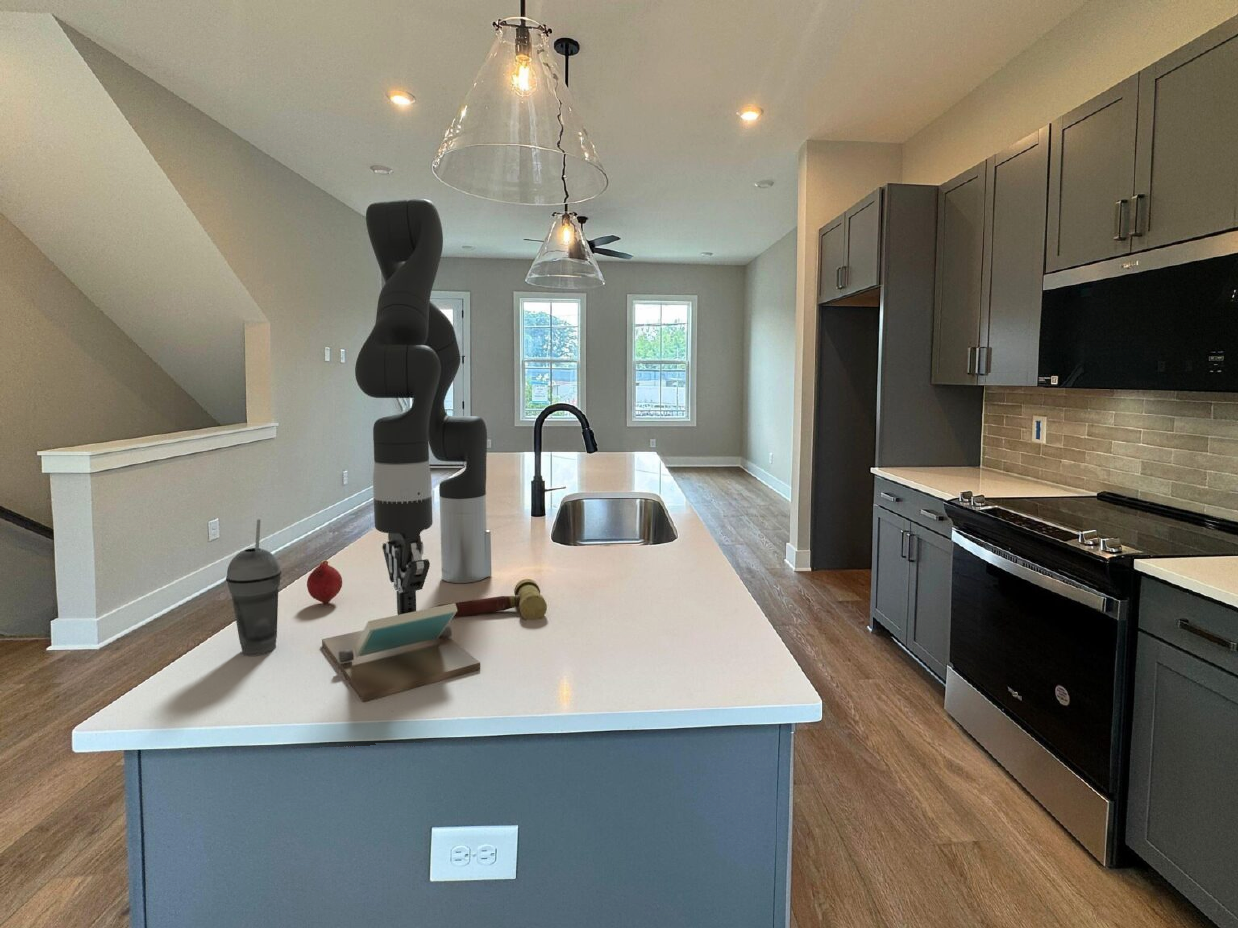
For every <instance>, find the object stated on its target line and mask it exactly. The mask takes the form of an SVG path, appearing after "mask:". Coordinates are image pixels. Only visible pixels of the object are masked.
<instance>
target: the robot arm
mask: <svg viewBox="0 0 1238 928" xmlns="http://www.w3.org/2000/svg"><path fill="white" fill-rule="evenodd" d="M365 221H366V229H367V234H368V238H369V240H370V241H369V242H370V245H371V247H372V250H373V252H374V255H375V258H376V262H377V263H378V266H379V269H380V271H381V274H382V278H383V280H384V285H383V286H382V288H381V290H380V293H379V297H378V300H377V308H376V315H375V325H374V326H373V328H372V330H371V332H370V334H369V335H368V337H367V338H366V339H365V342H364V343H363V345H362V346H361V349H360V350H359V353H358V355H357V358H356V361H355V366H354V368H355V370H354V374H355V375H354V376H355V381H356V384H357V385H358V387H359V389H360V390H361V392H362V393H364V394H365V395H367V396H368V397H371V398H376V399H413V400H412V401H413V402H412V405H411V407H410V408H409V409H408V410H407V411H405V412H402V413H399V414H394V415H389V416H384V417H380V418H378V419H377V420H375V422H374V423H373V428H372V436H373V439H372V440H373V459H374V460H373V461H374V462H373V463H374V464H373V474H372V491H373V493H372V494H373V518H374V519H373V520H374V521H373V523H374V527H375V529H376V530H377V531H378V532H381V533H384V534H387V538H388V541H386V542H385V543H382V547H381V548H382V551H383V555H384V559H385V563H386V567H387V572H388V576H389V581H390V582H391V583H393V589H394V590H395V591H396V609H397V610H396V611H397V613H396V614H397V615H400V614H405V613H410V612H415V611H417V591H421V590H423V587H424V585H425V581H426V579H427V575H428V572H429V569H430V565H431V564H430V560H429V558H426V559H423V558H422V557H423V555H424V542H423V541H422V538H421V533H422V532H424V531H425V530H428V529H430V528H431V527H432V525H433V491H432V490H433V488H432V487H433V485H432V473H431V467H430V461H429V460H430V453H429V452H430V450H431V453H432V455H433V456H434V458H435V459H436V460H437V461H440V462H449V463H450V462H451V463H454V462H455V463H457V462H458V463H465V468H464V469H465V470H463V472H461V473H459V474H458V475H455V476H452V477H448V478H446V479H443V480H442V481H441V482H439V486H438V490H439V491H438V492H439V517H440V518H439V521H440V523H439V524H440V554H441V555H440V557H441V559H440V561H441V578H442V580H443V581H444V582H447V583H453V584H454V583H455V584H466V583H467V584H469V583H475V582H478V581H481V580H484V579H486V578H488V577H492V536H491V535H492V534H491V533H492V532H491V531H490V530H489V529H487V526H488V525H487V489H486V488H487V455H488V453H487V452H488V431H487V430H488V429H487V426H486V423H485V421H484V419H483V418H482V417H480V416H476V415H473V416H472V415H471V416H470V415H469V416H468V415H466V416H465V415H448V414H447V412H446V409H445V400H446V396H447V393H448V392H449V389H450V388H451V385H452V383H453V382H454V380H455V378H456V375H457V374H458V371H459V367H460V364H461V353H460V349H459V344H458V341H457V335H456V332H455V329H454V325H453V324H452V322H451V321H450V319H449V318H448V317H447V315H446V314H445V313H443V311H442V310H441V309H440V308H439V307H437V306H436V304H434V303H433V301H431V294H432V290H433V286H434V283H435V280H436V277H437V274H438V270H439V266H440V262H441V257H442V254H443V248H444V247H443V246H444V235H443V234H444V233H443V226H442V223H441V218H440V215H439V211H438V209H437V207H436V206H435V204H434V203H433V201H431V200H429V199H425V198H411V199H400V200H399V199H397V200H390V201H389V200H388V201H381V202H373V203H371V204H369V205H368V207H367V209H366V212H365ZM403 262H404V263H403ZM429 449H430V450H429Z"/></svg>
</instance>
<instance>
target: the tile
mask: <svg viewBox="0 0 1238 928" xmlns="http://www.w3.org/2000/svg"><path fill="white" fill-rule="evenodd" d="M452 603H453V604H450V603H447V604H448V605H443V604H442V605H443V606H439V607H436V606H435V607H430V608H429V607H428V608H425V609H420V610H416V611H415V612H410V613H405V614H400V615H398V614H397V615H392V616H387V617H382V618H376V619H373V620H368V621H367V623H366V625H365V626H364V629H363V630H364V631H363V633H362V635H361V637H360V639H359V641H358V643H357V645H356V647H355V654H356V657H359V656H364V655H368V654H372V653H377V652H381V651H385V650H389V649H393V648H397V647H402V646H406V645H410V644H414V643H418V642H423V641H427V640H431V639H435V638H439V636H440V635H441V633H442V632H443V631H444V629H445V628H446V627H448V625H449V624H450V622H451V621H452V619H454V618H455V617H454V615H455V614H456V612H457V611H458V610H457V607H456V604H455V603H456V602H452ZM453 617H454V618H453Z"/></svg>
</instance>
